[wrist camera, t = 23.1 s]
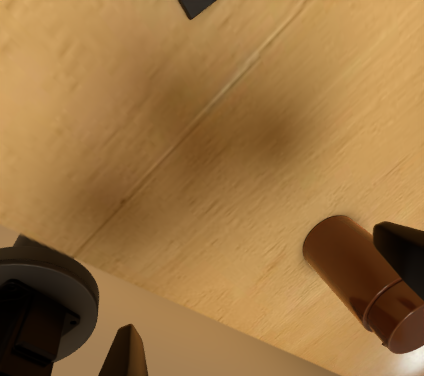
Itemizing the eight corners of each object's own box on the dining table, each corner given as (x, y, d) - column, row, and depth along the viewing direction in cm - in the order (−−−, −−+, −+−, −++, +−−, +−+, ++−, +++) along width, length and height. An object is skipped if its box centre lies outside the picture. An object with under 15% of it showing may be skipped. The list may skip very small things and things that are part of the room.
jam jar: (315, 274, 29) (394, 367, 21) (293, 241, 26) (376, 334, 18) (362, 241, 29) (462, 321, 21) (345, 203, 26) (455, 279, 18)
